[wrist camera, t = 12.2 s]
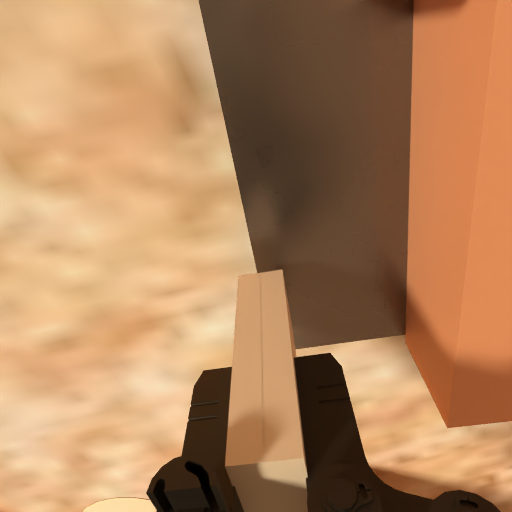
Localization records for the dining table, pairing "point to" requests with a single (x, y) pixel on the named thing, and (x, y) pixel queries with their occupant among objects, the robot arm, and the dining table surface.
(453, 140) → the link
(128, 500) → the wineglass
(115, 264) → the dining table surface
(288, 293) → the base
